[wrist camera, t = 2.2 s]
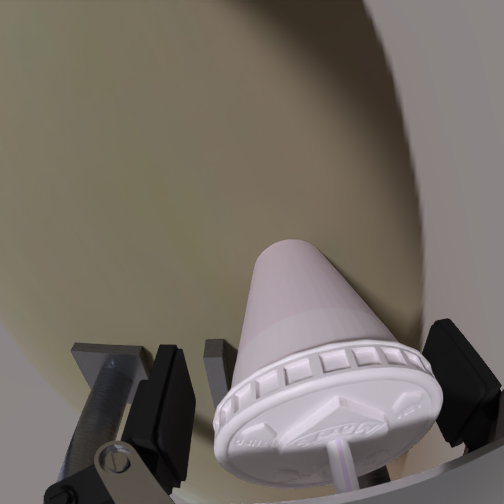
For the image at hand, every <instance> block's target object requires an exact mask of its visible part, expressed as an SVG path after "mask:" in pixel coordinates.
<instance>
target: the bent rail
mask: <svg viewBox="0 0 504 504" xmlns="http://www.w3.org/2000/svg"><path fill="white" fill-rule="evenodd" d="M203 358H204V363H205V368H206V372H207V377H208V381H209V385H210V390H211V394H212V398H213V402H214V407H215V411H216V409H217V406H218V404H219V403H220V402H221V401H222V399H223V398H224V397H225V396H226V394H227V393H228V392H229V391H230V389H231V387H230V381H229V374H228V368H227V361H226V355H225V348H224V341H223V339H213V340H206V342H205V349H204V357H203Z"/></svg>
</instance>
